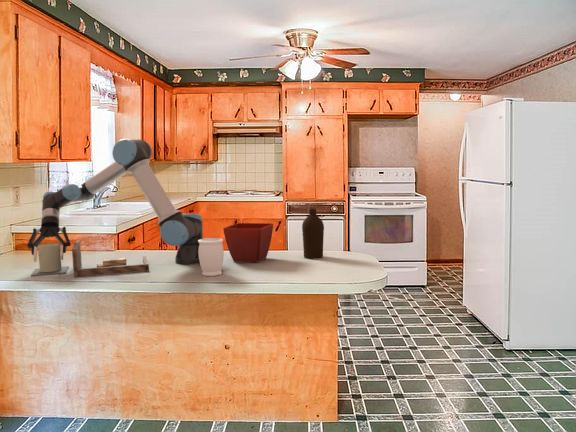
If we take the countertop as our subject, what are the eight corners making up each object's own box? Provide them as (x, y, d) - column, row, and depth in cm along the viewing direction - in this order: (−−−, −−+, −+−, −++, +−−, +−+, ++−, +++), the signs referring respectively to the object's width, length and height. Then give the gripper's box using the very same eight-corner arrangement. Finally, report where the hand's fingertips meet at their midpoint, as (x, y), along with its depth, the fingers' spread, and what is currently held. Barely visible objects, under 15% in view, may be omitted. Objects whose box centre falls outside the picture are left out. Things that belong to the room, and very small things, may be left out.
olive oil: (312, 260, 247) (311, 208, 244) (298, 257, 255) (297, 206, 252) (328, 257, 254) (328, 206, 251) (314, 254, 262) (313, 205, 259)
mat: (68, 267, 241) (68, 266, 241) (65, 273, 227) (65, 272, 227) (35, 270, 236) (35, 268, 236) (30, 276, 223) (30, 275, 223)
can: (38, 273, 226) (36, 246, 225) (40, 269, 235) (38, 243, 234) (61, 270, 230) (59, 244, 228) (62, 267, 238) (60, 241, 237)
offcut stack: (130, 268, 237) (129, 256, 237) (131, 270, 232) (131, 259, 232) (95, 271, 231) (95, 260, 231) (96, 274, 227) (95, 262, 226)
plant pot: (223, 263, 244) (222, 227, 242) (239, 255, 262) (238, 222, 260) (261, 264, 239) (260, 228, 237) (274, 257, 257) (274, 223, 255)
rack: (146, 260, 254) (144, 236, 253) (148, 270, 230) (147, 244, 229) (78, 265, 245) (76, 240, 243) (73, 277, 221) (72, 249, 219)
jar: (199, 277, 215) (198, 242, 213) (198, 272, 225) (197, 238, 223) (225, 276, 217) (224, 240, 215) (223, 270, 227) (222, 237, 225)
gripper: (77, 223, 248) (77, 261, 235) (24, 226, 241) (21, 266, 228) (75, 213, 242) (75, 252, 229) (21, 216, 235) (18, 256, 222)
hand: (48, 259), depth 228 cm, fingers open, 10 cm apart
